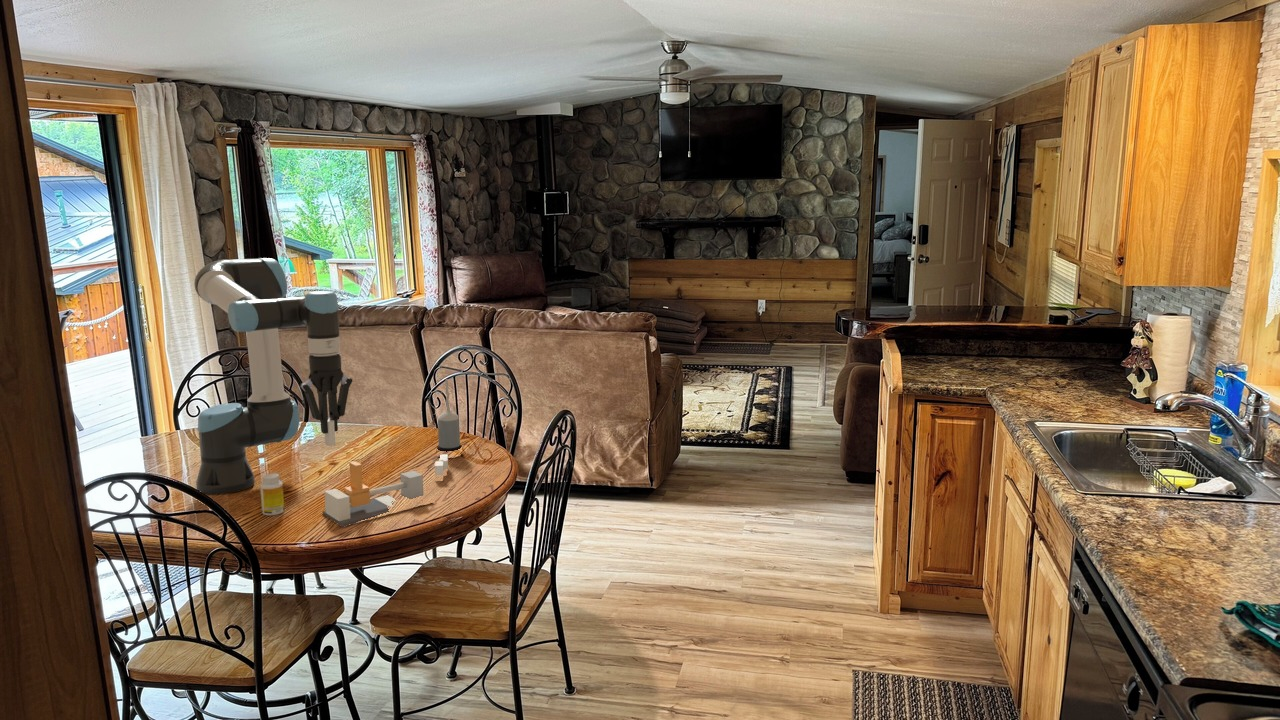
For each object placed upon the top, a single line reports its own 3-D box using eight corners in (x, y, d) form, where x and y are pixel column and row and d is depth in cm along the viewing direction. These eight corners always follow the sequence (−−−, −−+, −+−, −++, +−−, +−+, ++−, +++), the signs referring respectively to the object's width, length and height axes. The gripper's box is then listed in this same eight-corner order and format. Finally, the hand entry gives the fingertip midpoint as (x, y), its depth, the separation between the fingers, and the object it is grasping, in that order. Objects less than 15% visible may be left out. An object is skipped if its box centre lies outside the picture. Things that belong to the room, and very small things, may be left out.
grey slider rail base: (342, 527, 221) (341, 499, 219) (322, 514, 229) (321, 487, 228) (433, 503, 238) (432, 477, 237) (411, 492, 247) (410, 467, 245)
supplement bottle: (288, 512, 230) (286, 475, 228) (267, 518, 226) (265, 480, 224) (279, 507, 234) (276, 470, 232) (258, 512, 230) (255, 475, 228)
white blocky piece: (441, 467, 271) (441, 450, 270) (470, 473, 266) (470, 455, 265) (408, 481, 258) (407, 462, 257) (438, 487, 252) (437, 468, 251)
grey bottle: (440, 451, 286) (437, 376, 282) (465, 451, 286) (463, 377, 281) (433, 458, 278) (431, 382, 274) (459, 458, 278) (456, 382, 273)
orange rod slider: (352, 507, 226) (349, 467, 224) (345, 503, 229) (342, 463, 227) (369, 503, 229) (367, 463, 227) (362, 499, 232) (360, 459, 230)
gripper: (305, 358, 210) (311, 452, 214) (356, 352, 219) (361, 442, 223) (292, 354, 215) (299, 446, 219) (343, 348, 224) (348, 437, 228)
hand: (330, 444), depth 221 cm, fingers closed
